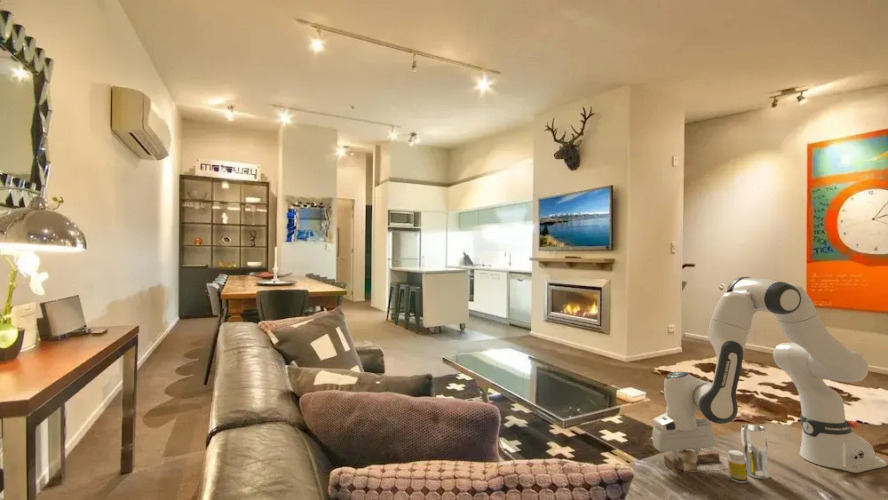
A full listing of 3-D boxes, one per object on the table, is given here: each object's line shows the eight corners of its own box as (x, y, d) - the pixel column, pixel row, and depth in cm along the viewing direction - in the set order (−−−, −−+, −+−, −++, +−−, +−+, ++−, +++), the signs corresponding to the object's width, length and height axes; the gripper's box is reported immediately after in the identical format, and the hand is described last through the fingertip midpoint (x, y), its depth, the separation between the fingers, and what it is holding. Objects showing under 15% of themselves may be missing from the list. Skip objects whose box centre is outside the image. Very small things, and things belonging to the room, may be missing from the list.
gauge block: (688, 463, 140) (686, 444, 140) (697, 469, 136) (695, 449, 136) (676, 464, 140) (674, 445, 140) (684, 471, 135) (682, 450, 136)
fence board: (715, 458, 143) (714, 449, 143) (732, 468, 135) (731, 459, 135) (662, 462, 142) (661, 453, 143) (675, 473, 134) (675, 463, 135)
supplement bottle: (751, 483, 126) (748, 456, 126) (734, 483, 127) (731, 455, 127) (742, 476, 130) (740, 449, 131) (726, 475, 131) (724, 449, 132)
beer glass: (742, 475, 131) (738, 428, 132) (745, 467, 136) (741, 422, 137) (770, 482, 126) (765, 433, 127) (772, 473, 131) (767, 426, 132)
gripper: (704, 414, 142) (708, 454, 141) (648, 419, 141) (652, 459, 141) (717, 421, 136) (721, 463, 135) (658, 426, 135) (662, 468, 134)
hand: (685, 461), depth 138 cm, fingers closed on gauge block, 4 cm apart
